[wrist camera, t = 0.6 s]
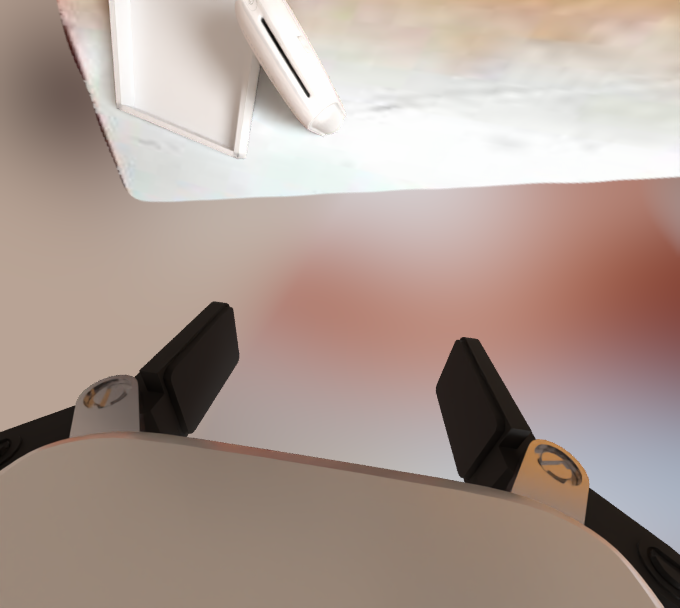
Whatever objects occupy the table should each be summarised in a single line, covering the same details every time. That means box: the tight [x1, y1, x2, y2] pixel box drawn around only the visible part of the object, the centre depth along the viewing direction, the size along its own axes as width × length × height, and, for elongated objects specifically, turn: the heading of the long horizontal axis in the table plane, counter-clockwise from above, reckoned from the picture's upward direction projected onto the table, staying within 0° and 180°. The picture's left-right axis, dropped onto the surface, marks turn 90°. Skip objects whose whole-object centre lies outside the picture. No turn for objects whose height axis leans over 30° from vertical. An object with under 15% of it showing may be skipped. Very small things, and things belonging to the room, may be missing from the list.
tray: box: [109, 0, 261, 159], centre depth 29 cm, size 15×15×2 cm
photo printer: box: [235, 0, 346, 136], centre depth 25 cm, size 10×4×12 cm, turn 35°
